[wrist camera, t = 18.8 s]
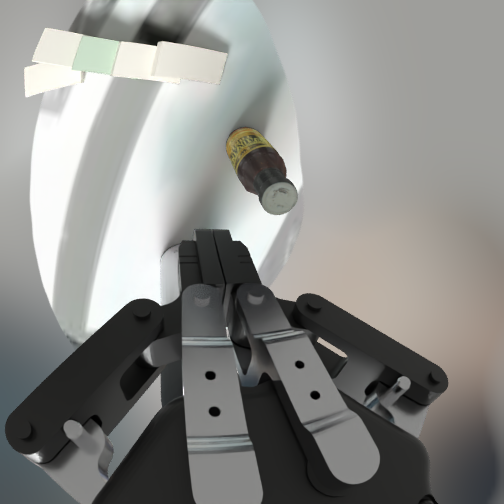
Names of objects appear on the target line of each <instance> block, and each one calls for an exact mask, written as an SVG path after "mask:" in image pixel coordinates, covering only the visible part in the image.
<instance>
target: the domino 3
mask: <svg viewBox="0 0 504 504" xmlns="http://www.w3.org/2000/svg"><path fill="white" fill-rule="evenodd" d="M119 42H120V41H115V40H109V39H103V38H97V37H90V36H82V38H81V41H80V44H79V47H78V50H77V53H76V56H75V59H74V62H73V65H72V69H71V70H75V71H85V72H93V73H101V74H108V75H110V74H111V69H112V65H113V62H114V58H115V54H116V51H117V47H118V44H119ZM127 78H128V77H127ZM133 79H138V78H133Z"/></svg>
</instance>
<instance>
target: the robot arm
mask: <svg viewBox="0 0 504 504" xmlns="http://www.w3.org/2000/svg"><path fill="white" fill-rule="evenodd" d="M160 279H161V306H160V305H159V304H158V303H156V302H155V301H153V300H150V299H136V300H133V301H131V302H129V303H128V304H127V305H125V306H124V307H123V308H122V309H121V310H120V311H119V312H117V313H116V314H115V315H114V316H113V317H112V318H111V319H110V320H109V321H107V322H106V323H105V324H104V325H103V326H102V327H101V328H100V329H99V330H97V331H96V332H95V333H94V334H93V335H92V336H91V337H90V338H89V339H88V340H86V341H85V342H84V343H83V344H82V345H81V346H80V347H79V348H78V349H77V350H76V351H75V352H74V353H72V355H70V356H69V357H68V358H67V359H66V360H65V361H64V362H63V363H62V364H61V365H60V366H59V367H58V368H57V369H56V370H54V371H53V372H52V373H51V374H50V375H49V376H48V377H47V378H46V379H45V380H44V381H43V382H42V383H41V384H40V385H39V386H38V387H37V388H36V389H35V390H34V391H33V392H32V393H31V394H30V395H29V396H28V397H27V398H26V399H25V400H24V401H23V402H22V403H21V404H20V405H19V406H18V407H17V408H16V409H15V410H14V411H13V412H12V413H11V414H10V416H9V417H8V419H7V421H6V425H5V433H6V438H7V440H8V442H9V444H10V445H11V446H12V447H13V449H15V450H16V451H18V452H19V453H20V454H22V455H23V456H25V457H26V458H27V459H28V460H29V461H31V462H33V463H34V464H36V465H38V466H39V467H41V468H42V469H43V470H44V471H45V472H46V473H47V474H48V475H49V476H50V477H51V478H52V479H53V480H54V481H55V482H56V483H58V484H59V485H60V486H61V487H62V488H63V489H64V490H65V491H66V492H67V493H68V494H70V495H71V496H72V497H73V498H74V499H75V500H77V501H78V502H79V503H80V504H438V503H437V502H436V501H435V499H434V497H433V495H432V491H431V485H430V460H429V456H428V452H427V450H426V448H425V446H424V445H423V443H422V442H421V441H420V440H419V439H418V438H419V435H420V432H421V429H422V426H423V423H424V420H425V417H426V413H427V410H428V407H429V405H430V404H431V403H432V402H433V401H434V400H435V399H437V398H438V397H439V396H440V395H441V394H442V393H443V392H444V391H445V390H446V389H447V387H448V378H447V376H446V374H445V372H444V371H443V370H442V369H441V368H440V367H439V366H438V365H436V364H434V363H432V362H431V361H429V360H427V359H425V358H424V357H422V356H420V355H419V354H417V353H415V352H414V351H412V350H410V349H409V348H407V347H405V346H403V345H402V344H400V343H399V342H397V341H395V340H393V339H392V338H390V337H388V336H387V335H385V334H383V333H382V332H380V331H378V330H376V329H375V328H373V327H371V326H370V325H368V324H366V323H365V322H363V321H361V320H360V319H358V318H356V317H354V316H353V315H351V314H350V313H348V312H346V311H344V310H343V309H341V308H339V307H338V306H336V305H334V304H333V303H331V302H329V301H328V300H326V299H324V298H323V297H321V296H319V295H315V294H311V293H309V294H308V293H307V294H302V295H301V296H299V297H298V298H297V300H296V302H293V301H288V300H282V299H278V298H276V297H275V296H274V294H273V292H272V291H271V290H270V289H269V288H268V287H266V286H264V285H262V283H261V281H260V278H259V276H258V273H257V271H256V268H255V266H254V263H253V261H252V258H251V257H250V253H249V251H248V248H247V247H246V246H245V245H244V244H243V243H242V242H241V241H232V238H231V235H230V232H229V230H214V229H212V230H211V229H194V235H193V241H182V243H181V244H179V245H175V246H173V247H171V248H169V249H168V250H167V251H166V252H165V253H164V254H163V256H162V258H161V276H160ZM226 327H228V330H229V335H228V338H227V333H226ZM319 337H321V338H322V339H323V340H325V341H327V342H328V343H330V344H332V345H333V346H335V347H336V348H338V349H340V350H341V351H343V352H344V353H345V354H346V355H347V357H346V358H345V357H341V356H339V355H338V354H336V353H334V352H333V351H331V350H330V349H328V348H326V347H325V346H323V345H322V344H320V343H318V342H317V340H318V338H319ZM236 368H237V369H236ZM237 371H238V373H237ZM160 373H161V402H162V408H161V409H160V410H159V412H157V414H156V415H155V416H154V418H153V419H152V420H151V422H150V423H149V425H148V426H147V427H146V429H145V430H144V432H143V433H142V434H141V436H140V437H139V439H138V440H137V441H136V443H135V444H134V445H133V447H132V448H131V449H130V451H129V452H128V454H127V455H126V456H125V458H124V459H123V461H122V462H121V463H120V465H119V466H118V468H117V469H116V470H115V471H114V473H113V474H112V476H111V477H110V478H108V472H107V471H108V466H109V463H110V462H111V460H112V458H113V453H114V450H113V445H112V442H111V441H110V439H109V438H108V437H107V436H108V435H109V434H110V433H111V432H112V431H113V429H114V428H115V427H116V426H117V425H118V423H119V422H120V421H121V420H122V419H123V418H124V416H125V415H126V414H127V413H128V412H129V410H130V409H131V408H132V407H133V406H134V404H135V403H136V402H137V401H138V400H139V398H140V397H141V396H142V395H143V394H144V393H145V391H146V390H147V389H148V388H149V386H150V385H151V384H152V383H153V382H154V380H155V379H156V378H157V377H158V376H159V374H160Z"/></svg>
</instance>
